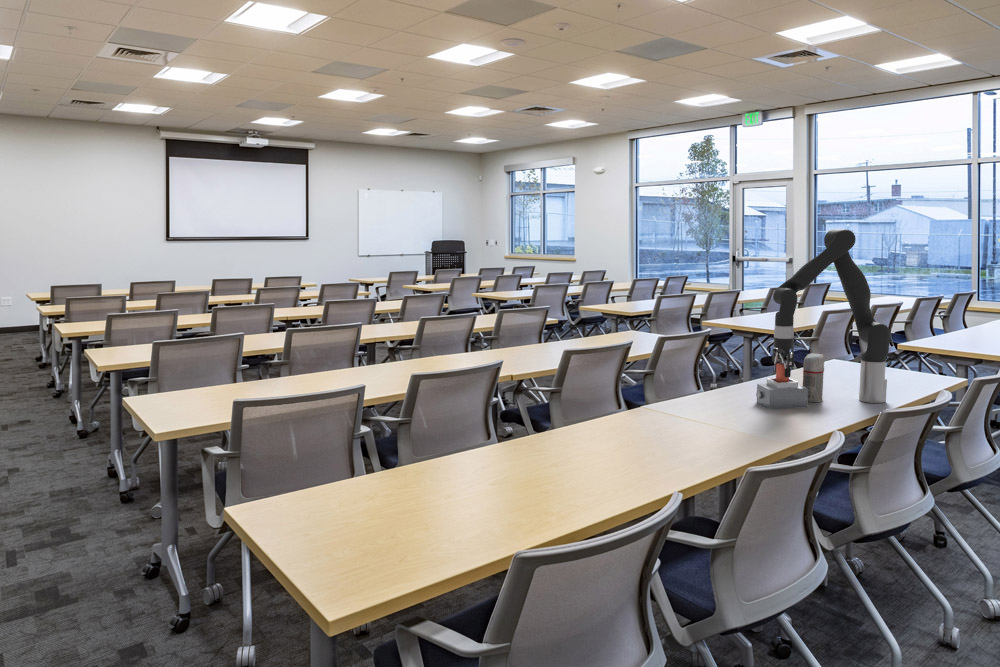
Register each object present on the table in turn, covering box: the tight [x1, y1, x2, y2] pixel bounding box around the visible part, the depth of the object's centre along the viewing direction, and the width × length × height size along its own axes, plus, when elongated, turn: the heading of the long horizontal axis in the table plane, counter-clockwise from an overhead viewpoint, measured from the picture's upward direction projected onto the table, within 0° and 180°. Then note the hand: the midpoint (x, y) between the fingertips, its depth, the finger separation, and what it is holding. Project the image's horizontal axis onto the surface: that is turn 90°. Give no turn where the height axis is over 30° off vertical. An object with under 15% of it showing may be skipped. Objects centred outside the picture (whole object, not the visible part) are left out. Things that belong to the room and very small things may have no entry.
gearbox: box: [755, 377, 808, 410], centre depth 296 cm, size 17×12×10 cm
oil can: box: [775, 360, 790, 382], centre depth 294 cm, size 5×5×11 cm
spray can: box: [802, 352, 826, 403], centre depth 301 cm, size 8×8×20 cm
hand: (782, 375), depth 295 cm, fingers open, 8 cm apart
